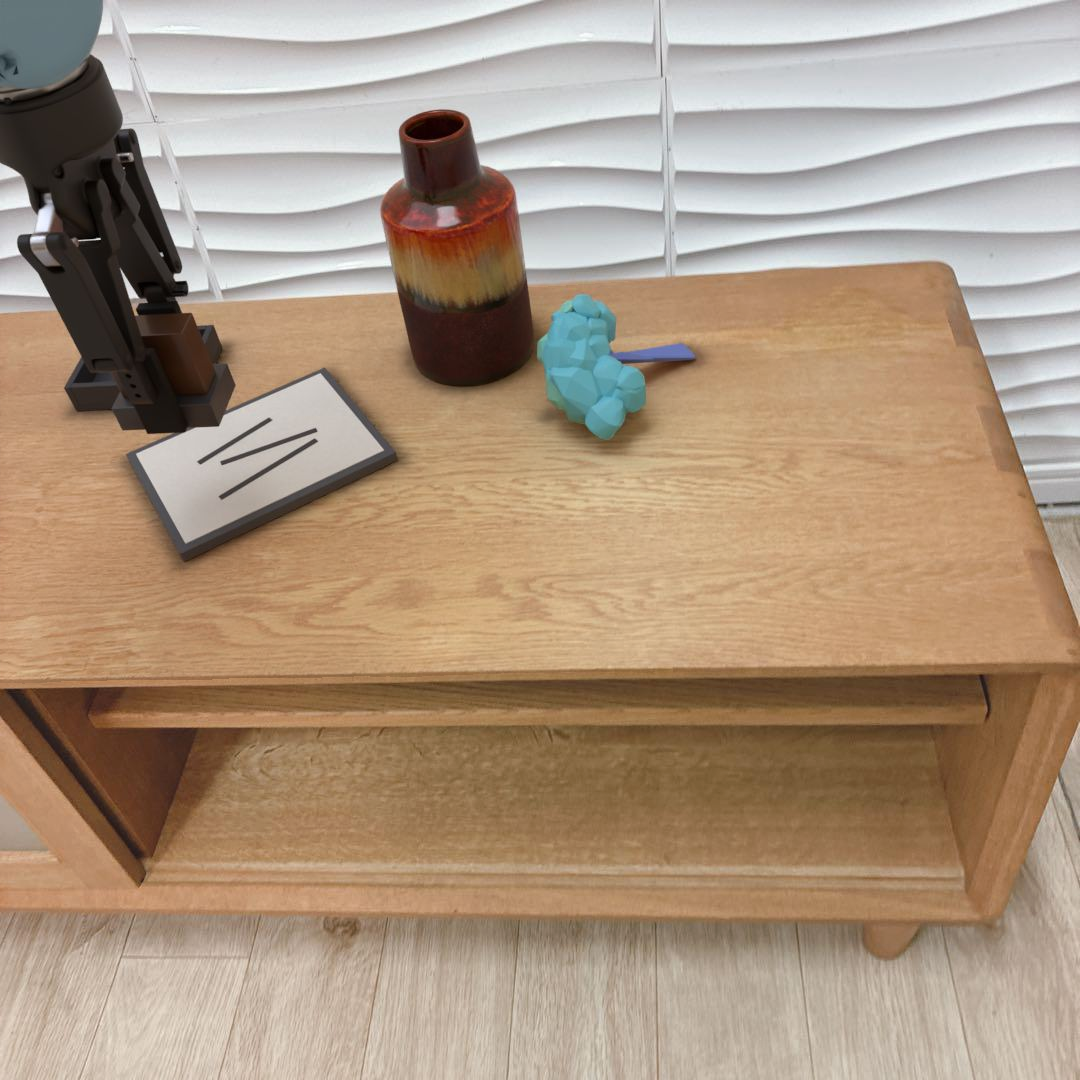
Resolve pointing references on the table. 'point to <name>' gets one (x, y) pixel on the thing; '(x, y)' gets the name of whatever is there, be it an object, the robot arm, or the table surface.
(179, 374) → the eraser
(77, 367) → the tray
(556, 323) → the light blue toy tree
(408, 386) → the table surface
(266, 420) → the whiteboard
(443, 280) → the vase
